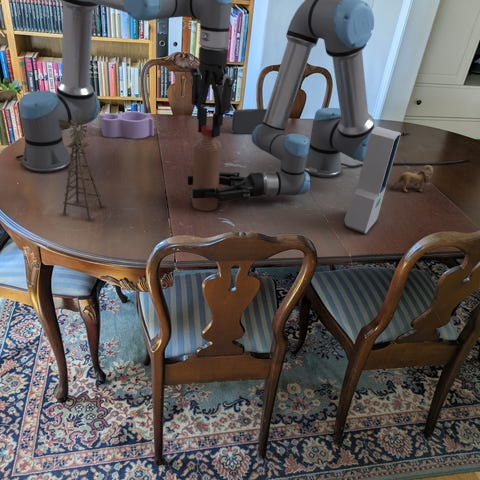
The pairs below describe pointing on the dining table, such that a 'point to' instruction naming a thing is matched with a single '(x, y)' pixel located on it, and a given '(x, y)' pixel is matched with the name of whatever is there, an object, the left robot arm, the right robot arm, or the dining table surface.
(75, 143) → the miniature windmill
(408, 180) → the lion figurine
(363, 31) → the right robot arm
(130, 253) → the dining table surface
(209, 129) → the cap
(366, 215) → the electronic device
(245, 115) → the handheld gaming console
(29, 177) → the dining table surface
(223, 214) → the dining table surface
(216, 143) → the bottle
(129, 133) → the clip
